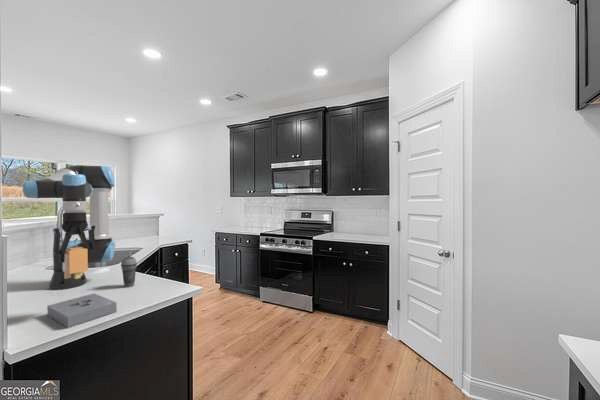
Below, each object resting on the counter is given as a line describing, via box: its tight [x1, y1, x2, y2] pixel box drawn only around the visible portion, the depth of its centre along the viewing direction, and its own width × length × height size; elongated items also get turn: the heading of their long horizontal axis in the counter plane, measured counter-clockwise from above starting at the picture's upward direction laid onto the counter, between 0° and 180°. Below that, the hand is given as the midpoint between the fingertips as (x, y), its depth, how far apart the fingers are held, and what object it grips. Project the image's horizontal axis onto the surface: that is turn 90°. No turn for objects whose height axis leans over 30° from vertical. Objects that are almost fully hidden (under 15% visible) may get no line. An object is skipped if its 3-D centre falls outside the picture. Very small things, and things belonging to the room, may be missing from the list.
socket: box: [46, 293, 118, 329], centre depth 111 cm, size 20×16×4 cm
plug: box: [63, 247, 89, 279], centre depth 113 cm, size 7×6×12 cm
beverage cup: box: [120, 247, 138, 288], centre depth 145 cm, size 7×7×20 cm
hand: (75, 268), depth 113 cm, fingers closed on plug, 6 cm apart
